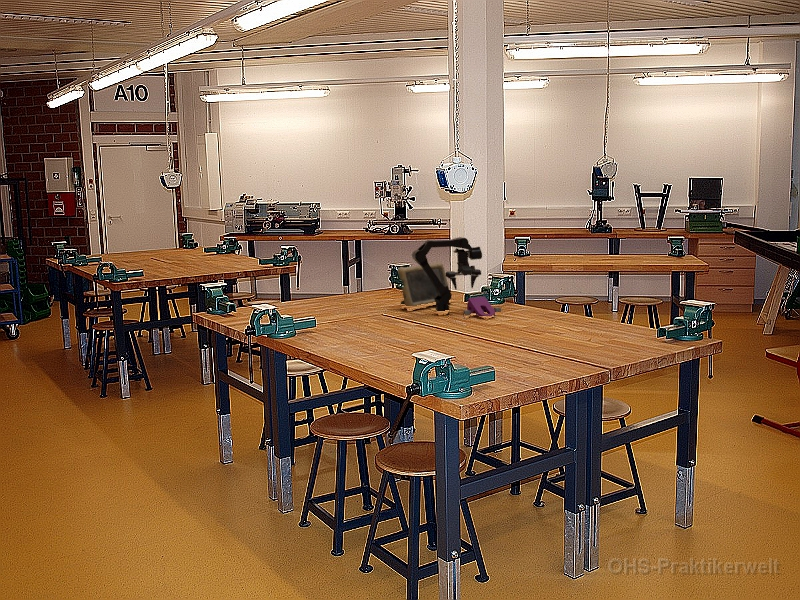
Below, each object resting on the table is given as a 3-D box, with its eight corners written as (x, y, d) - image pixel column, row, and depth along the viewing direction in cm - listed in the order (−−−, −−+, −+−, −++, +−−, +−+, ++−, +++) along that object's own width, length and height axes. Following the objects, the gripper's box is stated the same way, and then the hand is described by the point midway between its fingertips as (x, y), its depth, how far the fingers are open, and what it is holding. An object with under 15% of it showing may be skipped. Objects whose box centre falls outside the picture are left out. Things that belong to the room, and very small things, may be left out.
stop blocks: (465, 318, 430) (465, 311, 430) (463, 317, 433) (463, 310, 433) (501, 315, 435) (500, 307, 434) (499, 314, 438) (498, 306, 437)
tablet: (414, 312, 459) (411, 268, 455) (397, 310, 469) (394, 267, 465) (453, 304, 481) (451, 261, 477) (436, 302, 491) (434, 260, 487)
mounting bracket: (495, 328, 431) (482, 309, 446) (497, 315, 427) (484, 296, 441) (478, 330, 429) (466, 311, 443) (481, 316, 424) (468, 298, 438)
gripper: (450, 263, 435) (452, 292, 438) (484, 260, 440) (485, 289, 442) (444, 261, 446) (446, 289, 448) (477, 258, 450) (478, 286, 453)
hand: (464, 289), depth 448 cm, fingers open, 9 cm apart
